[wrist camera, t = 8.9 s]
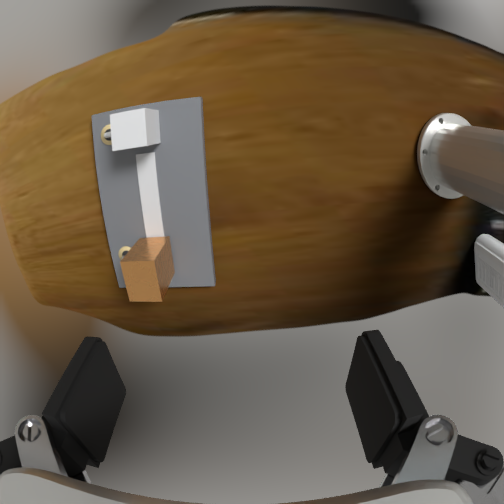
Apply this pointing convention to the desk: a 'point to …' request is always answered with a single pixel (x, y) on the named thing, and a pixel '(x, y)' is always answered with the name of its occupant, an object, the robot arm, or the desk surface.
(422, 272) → the desk surface
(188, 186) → the slide rail plate
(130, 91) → the desk surface
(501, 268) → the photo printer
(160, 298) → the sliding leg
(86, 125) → the desk surface
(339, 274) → the desk surface
